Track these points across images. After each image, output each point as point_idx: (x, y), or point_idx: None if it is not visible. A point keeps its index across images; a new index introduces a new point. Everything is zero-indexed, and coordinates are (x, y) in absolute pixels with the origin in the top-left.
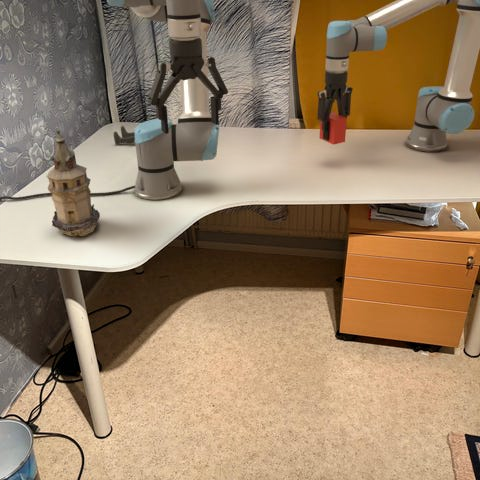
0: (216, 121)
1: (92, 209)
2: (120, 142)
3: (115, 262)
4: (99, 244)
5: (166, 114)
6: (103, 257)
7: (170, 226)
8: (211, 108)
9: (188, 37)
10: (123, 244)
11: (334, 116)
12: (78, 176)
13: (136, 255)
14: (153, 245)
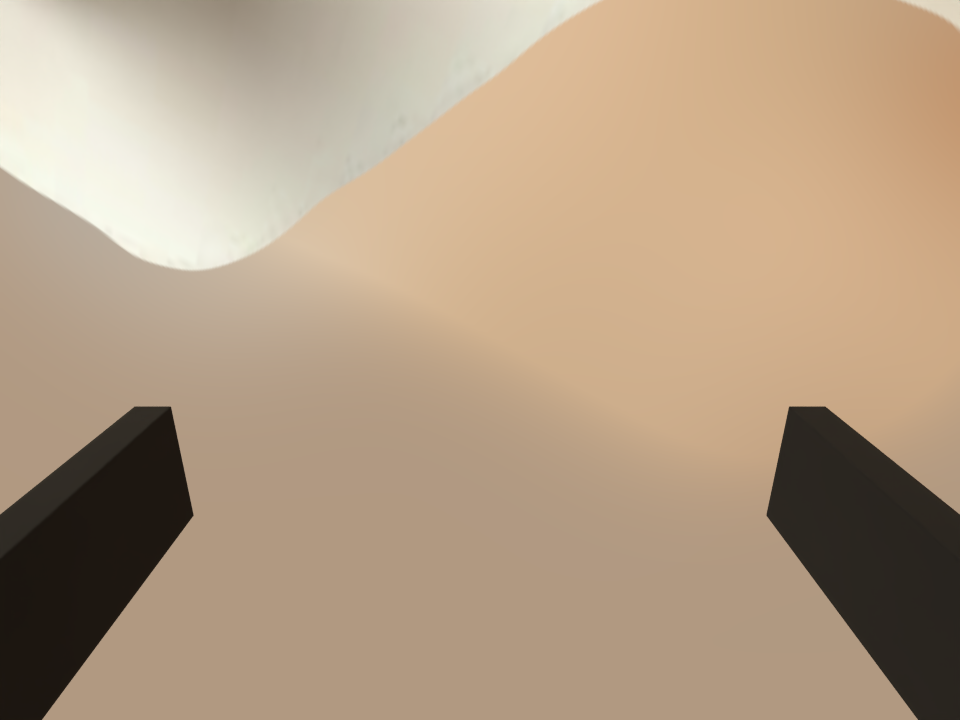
0: (790, 541)
1: None
2: None
3: (153, 233)
4: (102, 56)
5: (42, 705)
6: (112, 175)
7: (425, 56)
8: (901, 525)
9: None
10: (200, 112)
11: None
12: None
13: (234, 224)
14: (311, 184)
